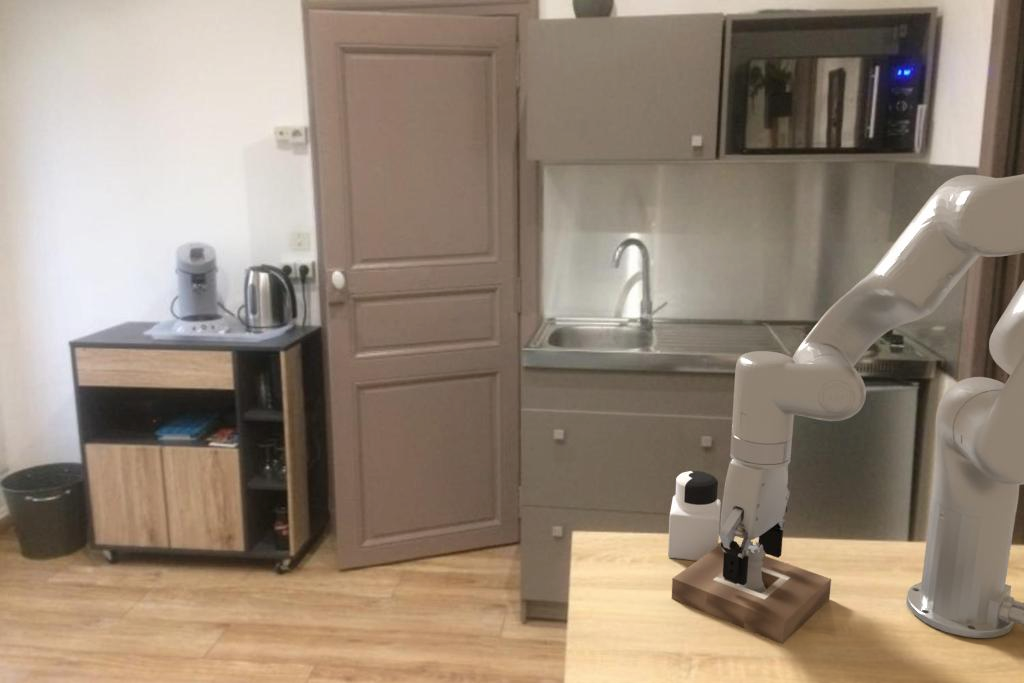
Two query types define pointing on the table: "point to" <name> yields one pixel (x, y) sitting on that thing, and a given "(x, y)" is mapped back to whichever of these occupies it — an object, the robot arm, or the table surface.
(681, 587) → the board
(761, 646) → the table surface
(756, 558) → the rook chess piece
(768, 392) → the robot arm
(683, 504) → the medicine bottle
